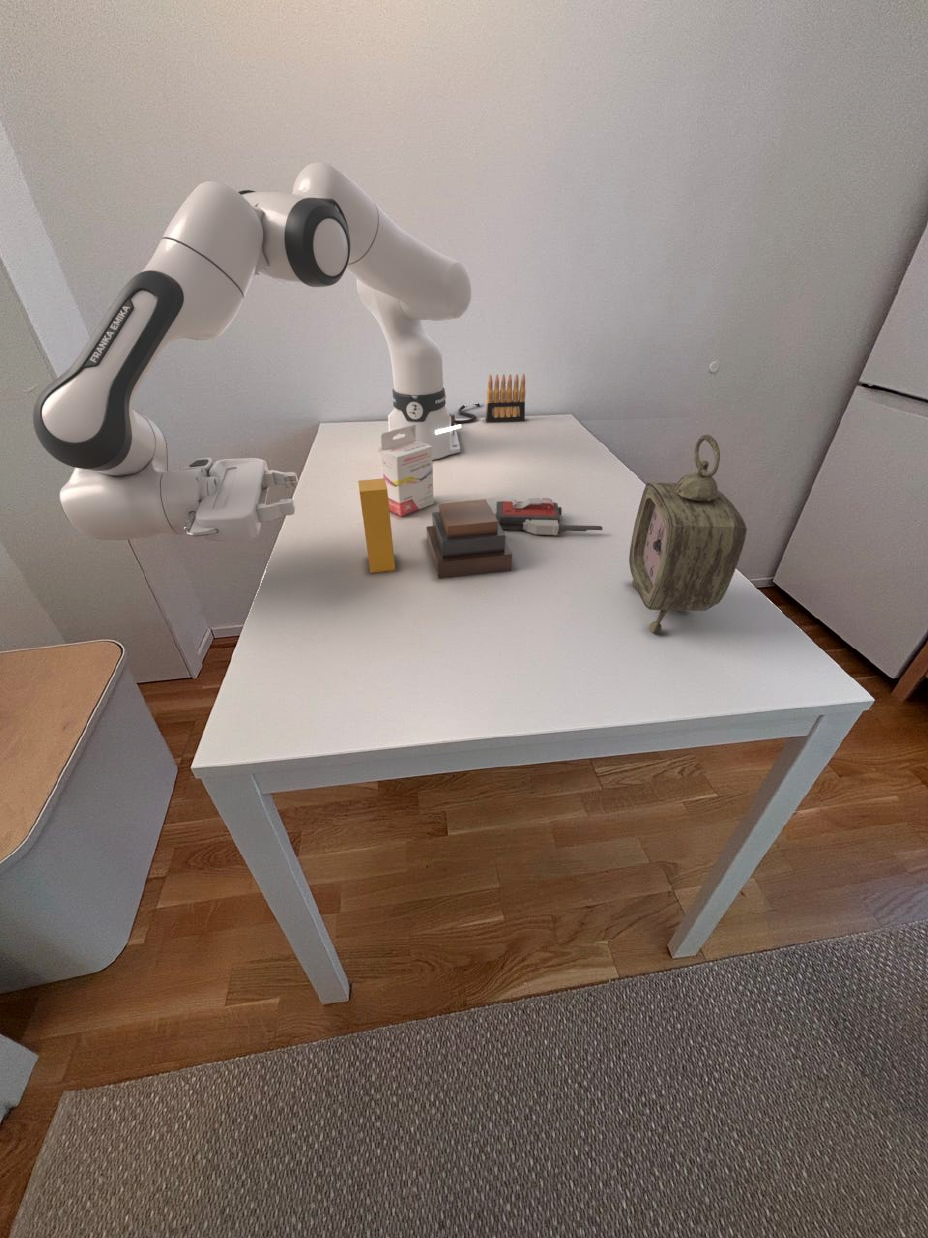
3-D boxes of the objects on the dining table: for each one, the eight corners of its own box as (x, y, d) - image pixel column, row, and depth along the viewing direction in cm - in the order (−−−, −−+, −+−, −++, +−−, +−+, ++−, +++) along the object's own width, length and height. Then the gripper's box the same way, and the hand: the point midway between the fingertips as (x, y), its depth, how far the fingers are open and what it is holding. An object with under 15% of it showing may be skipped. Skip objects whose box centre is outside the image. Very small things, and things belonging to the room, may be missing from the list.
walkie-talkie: (489, 535, 92) (602, 538, 92) (490, 513, 90) (606, 515, 89) (490, 513, 99) (594, 515, 98) (490, 491, 96) (598, 493, 96)
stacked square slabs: (427, 541, 91) (424, 499, 86) (493, 534, 93) (494, 492, 88) (438, 578, 82) (436, 534, 77) (511, 570, 84) (514, 526, 79)
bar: (369, 560, 86) (358, 480, 77) (392, 557, 87) (384, 478, 78) (370, 573, 83) (359, 491, 74) (395, 570, 84) (387, 489, 75)
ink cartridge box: (401, 518, 98) (395, 440, 89) (385, 509, 101) (377, 433, 91) (435, 503, 103) (432, 428, 93) (419, 496, 105) (414, 422, 96)
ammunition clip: (486, 422, 142) (487, 375, 134) (485, 420, 143) (486, 373, 136) (524, 421, 143) (527, 374, 135) (523, 418, 144) (526, 372, 137)
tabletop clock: (621, 580, 81) (659, 417, 65) (680, 581, 81) (731, 418, 65) (644, 641, 70) (695, 461, 54) (711, 642, 69) (783, 462, 54)
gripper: (171, 514, 64) (286, 503, 66) (201, 453, 79) (294, 446, 81) (188, 558, 68) (296, 546, 70) (214, 491, 83) (302, 484, 85)
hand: (295, 492), depth 76 cm, fingers open, 8 cm apart
